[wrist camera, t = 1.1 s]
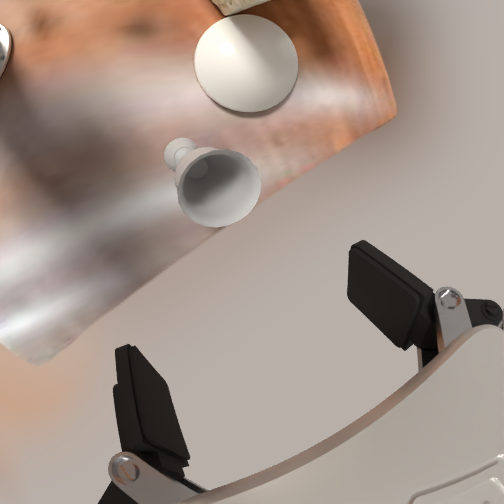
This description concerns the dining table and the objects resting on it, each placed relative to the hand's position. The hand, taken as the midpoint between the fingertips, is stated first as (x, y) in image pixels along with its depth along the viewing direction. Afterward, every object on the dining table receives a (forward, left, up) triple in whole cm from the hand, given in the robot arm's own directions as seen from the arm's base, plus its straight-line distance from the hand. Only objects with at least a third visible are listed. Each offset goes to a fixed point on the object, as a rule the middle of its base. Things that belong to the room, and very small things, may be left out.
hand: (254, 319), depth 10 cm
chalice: (0, +3, -32) cm, 32 cm away
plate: (-11, +16, -32) cm, 37 cm away
